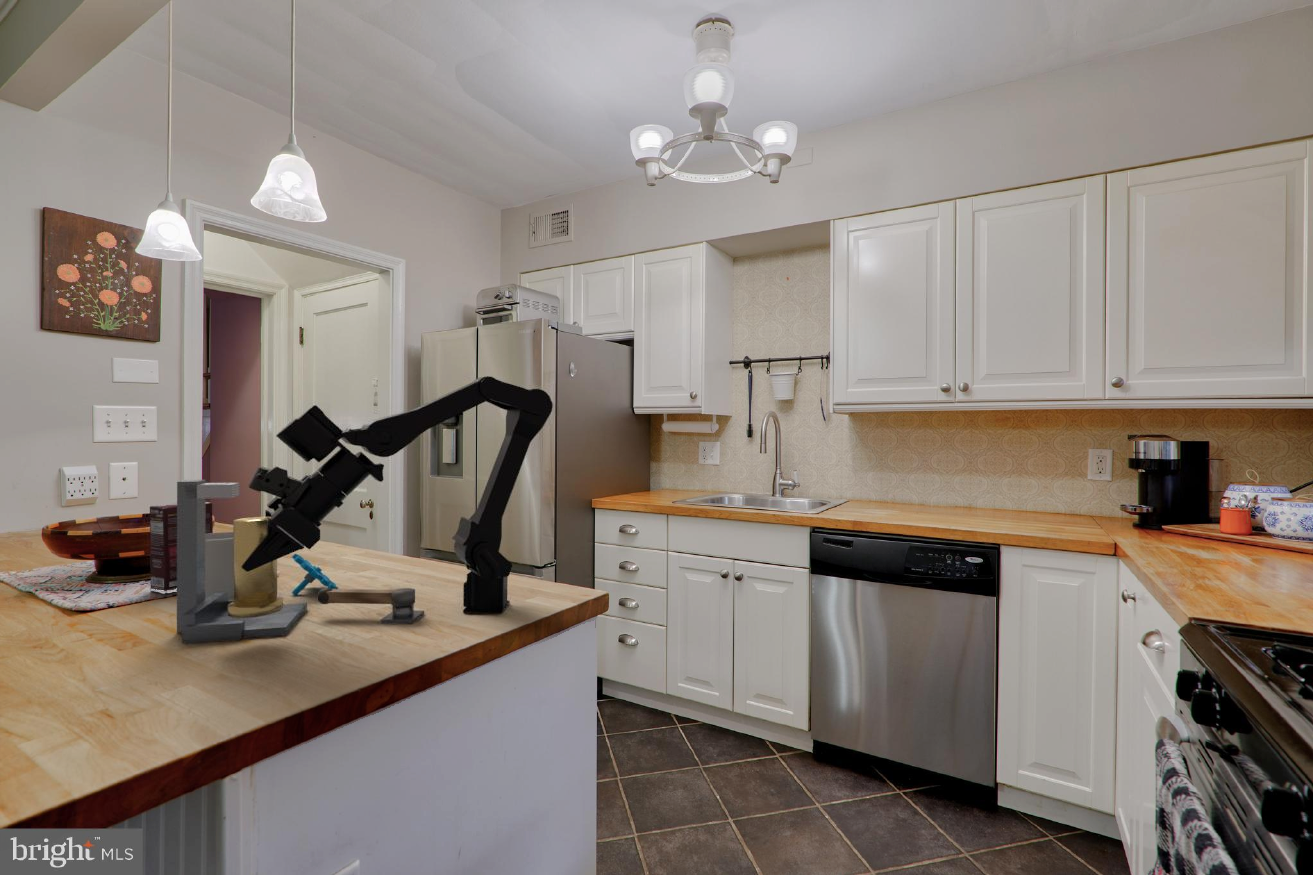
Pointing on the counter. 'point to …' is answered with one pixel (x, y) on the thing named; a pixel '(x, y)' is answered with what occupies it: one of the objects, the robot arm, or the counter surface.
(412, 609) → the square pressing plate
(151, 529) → the supplement box
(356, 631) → the counter surface
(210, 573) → the mug
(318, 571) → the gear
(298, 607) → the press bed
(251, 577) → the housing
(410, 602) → the lever
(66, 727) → the counter surface
